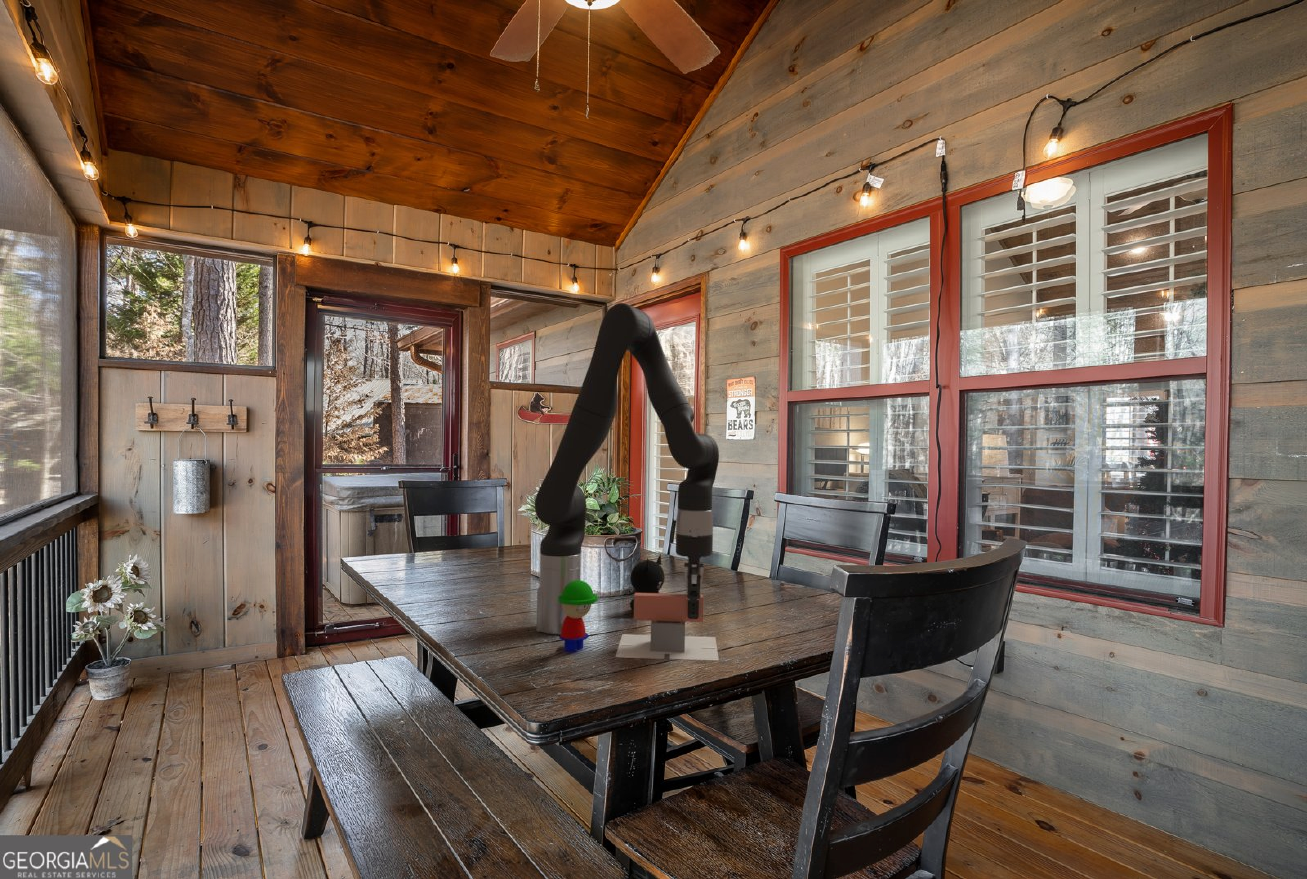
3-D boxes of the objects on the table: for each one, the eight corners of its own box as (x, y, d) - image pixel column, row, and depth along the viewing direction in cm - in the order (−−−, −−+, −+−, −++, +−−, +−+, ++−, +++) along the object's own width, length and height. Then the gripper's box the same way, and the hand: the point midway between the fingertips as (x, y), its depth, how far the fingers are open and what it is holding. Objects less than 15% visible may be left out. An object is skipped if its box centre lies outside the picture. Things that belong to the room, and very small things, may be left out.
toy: (580, 665, 126) (581, 586, 126) (548, 657, 130) (550, 581, 130) (604, 654, 132) (605, 579, 132) (574, 647, 137) (575, 575, 137)
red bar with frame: (632, 650, 131) (633, 598, 131) (634, 640, 138) (635, 590, 138) (702, 652, 131) (703, 600, 131) (701, 642, 137) (702, 592, 137)
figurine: (662, 625, 155) (663, 561, 155) (617, 614, 163) (618, 554, 163) (700, 611, 167) (701, 552, 167) (656, 602, 176) (657, 546, 176)
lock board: (615, 663, 127) (615, 631, 127) (622, 639, 142) (622, 611, 142) (718, 666, 126) (719, 634, 126) (715, 642, 141) (715, 613, 141)
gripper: (676, 526, 141) (674, 607, 141) (675, 535, 127) (674, 625, 127) (711, 527, 141) (710, 608, 141) (714, 536, 127) (712, 626, 127)
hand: (692, 616), depth 134 cm, fingers closed on red bar with frame, 2 cm apart
